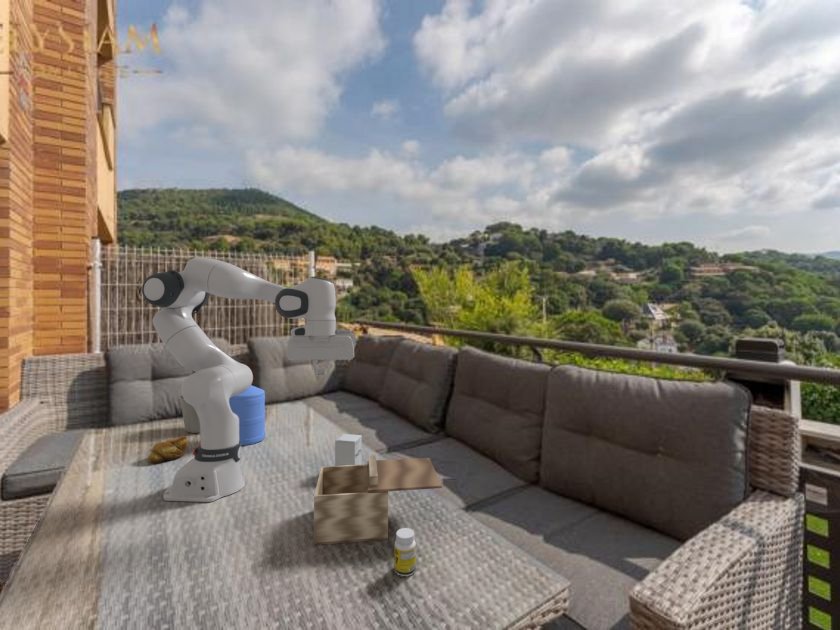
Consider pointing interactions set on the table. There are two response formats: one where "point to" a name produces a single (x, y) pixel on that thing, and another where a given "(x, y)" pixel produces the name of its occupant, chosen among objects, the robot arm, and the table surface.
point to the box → (348, 507)
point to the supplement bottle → (405, 552)
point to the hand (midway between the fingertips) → (321, 374)
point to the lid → (401, 475)
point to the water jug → (250, 414)
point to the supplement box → (348, 450)
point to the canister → (190, 417)
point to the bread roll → (168, 450)
